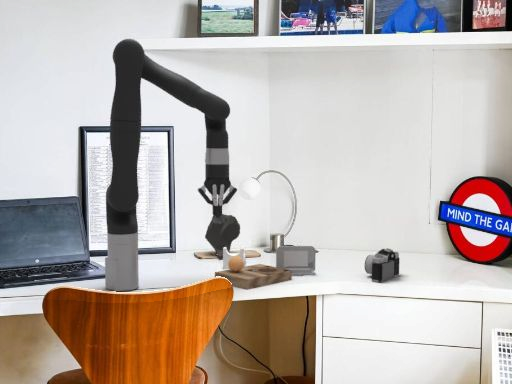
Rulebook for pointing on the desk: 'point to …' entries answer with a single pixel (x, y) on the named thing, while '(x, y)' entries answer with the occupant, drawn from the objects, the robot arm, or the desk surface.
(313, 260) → the toaster
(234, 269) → the ball
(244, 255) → the bracket
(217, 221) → the dark grey rock
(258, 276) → the brown wooden flat block
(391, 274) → the camera
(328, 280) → the desk surface
